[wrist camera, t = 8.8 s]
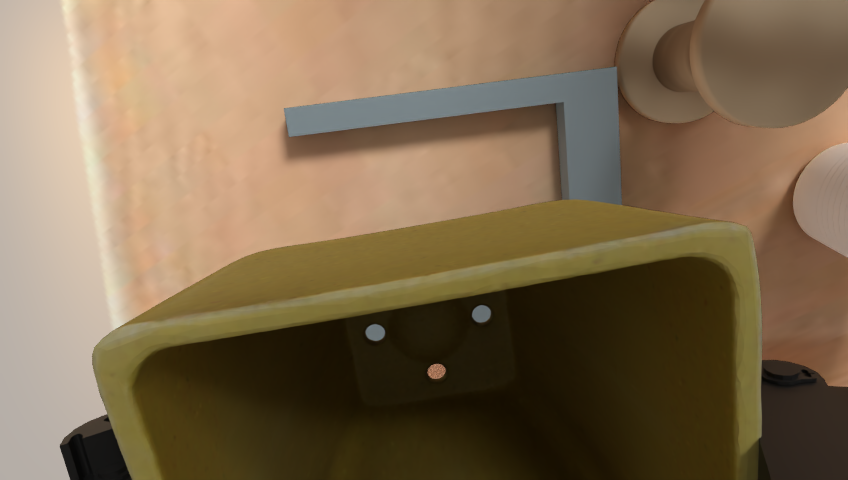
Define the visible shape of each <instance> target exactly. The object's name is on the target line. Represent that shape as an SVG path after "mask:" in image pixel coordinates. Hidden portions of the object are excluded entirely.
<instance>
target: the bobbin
mask: <svg viewBox="0 0 848 480" xmlns="http://www.w3.org/2000/svg"><path fill="white" fill-rule="evenodd" d="M615 67H617V83H618V86H619V89H620V91H621V93H622V95H623V97H624V99H625V100H626V101H627V103H628V104H629V105H630V106H631V107H632V108H633V109H634V110H635V111H636V112H638V113H639V114H640V115H642V116H644V117H646V118H648V119H651V120H653V121H658V122H664V123H686V122H692V121H695V120H698V119H701V118H703V117H705V116H707V115H709V114H711V113H712V112H714V111H715V112H716V113H717V114H718V115H720V116H721V117H723V118H725V119H726V120H728V121H730V122H733V123H736V124H738V125H743V126H747V127H760V128H783V127H788V126H793V125H796V124H799V123H802V122H805V121H807V120H809V119H811V118H813V117H815V116H817V115H818V114H820V113H822V112H823V111H825V110H826V109H827V108H828V107H830V106H831V105H832V104H833V103H834V102H835V101H836V100H837V99H838V98H839V97H840V96H841V95H842V94H843V93H844V92H845V90H846V89H847V88H848V0H654V1H652V2H650V3H649V4H647V5H646V6H644V7H643V8H642V9H641V10H639V11H638V12H637V13H636V14H635V15H634V16H633V18H632V19H631V20H630V21H629V23H628V24H627V26H626V27H625V29H624V31H623V33H622V35H621V37H620V40H619V43H618V46H617V50H616V56H615Z"/></svg>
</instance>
